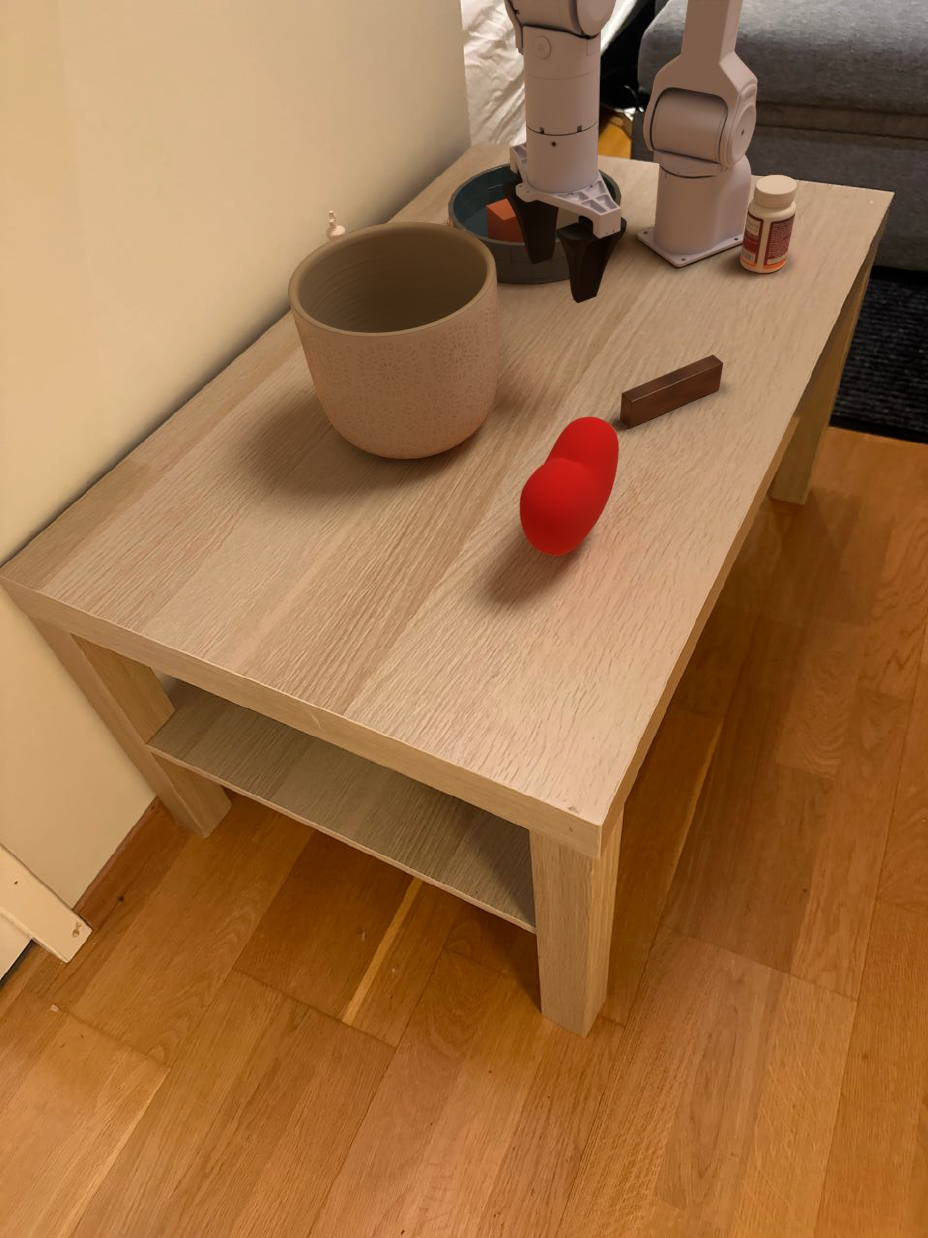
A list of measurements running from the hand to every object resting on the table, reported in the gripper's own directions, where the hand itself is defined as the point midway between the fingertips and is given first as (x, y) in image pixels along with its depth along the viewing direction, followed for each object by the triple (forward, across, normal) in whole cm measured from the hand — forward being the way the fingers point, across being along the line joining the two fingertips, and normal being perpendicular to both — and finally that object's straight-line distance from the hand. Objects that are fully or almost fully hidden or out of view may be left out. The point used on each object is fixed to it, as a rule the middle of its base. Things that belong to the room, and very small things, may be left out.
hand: (562, 278), depth 81 cm
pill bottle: (+9, -4, +27) cm, 29 cm away
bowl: (+9, -22, +10) cm, 26 cm away
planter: (+9, 0, -16) cm, 19 cm away
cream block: (+9, -22, +13) cm, 27 cm away
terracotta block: (+9, -22, +7) cm, 25 cm away
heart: (+9, +21, -12) cm, 26 cm away
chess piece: (+9, -23, -13) cm, 28 cm away
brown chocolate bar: (+9, +11, +5) cm, 15 cm away
